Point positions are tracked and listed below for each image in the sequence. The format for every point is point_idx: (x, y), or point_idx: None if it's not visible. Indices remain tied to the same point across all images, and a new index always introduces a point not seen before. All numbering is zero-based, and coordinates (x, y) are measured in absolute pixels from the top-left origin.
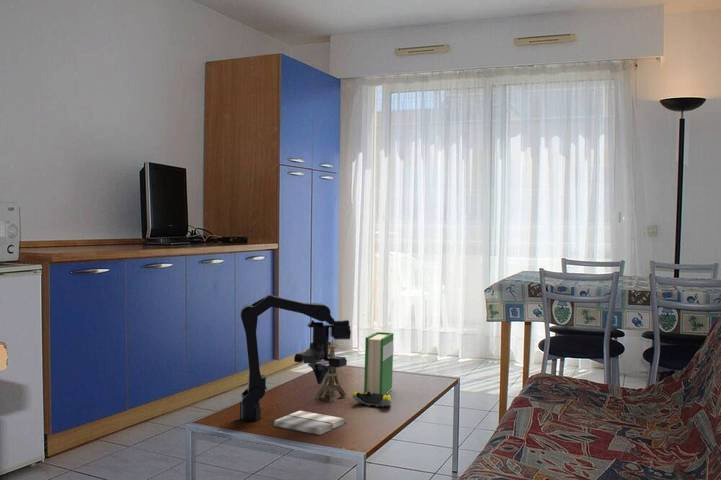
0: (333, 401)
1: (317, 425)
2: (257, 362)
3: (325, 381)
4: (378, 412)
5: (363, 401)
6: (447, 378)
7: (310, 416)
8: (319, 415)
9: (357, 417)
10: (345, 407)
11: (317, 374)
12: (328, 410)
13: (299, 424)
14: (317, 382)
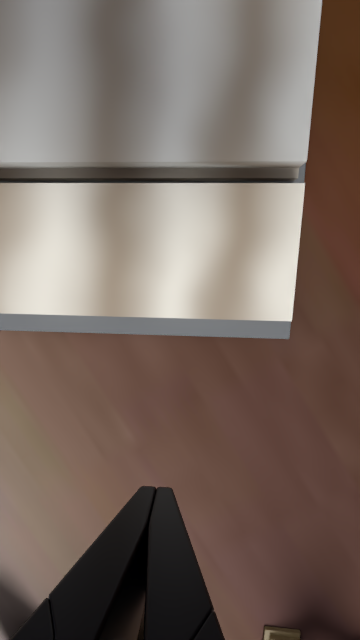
0: (274, 631)
1: (2, 73)
2: None
3: None
4: (9, 571)
5: None
6: None
7: (158, 236)
8: (125, 289)
9: (35, 462)
10: None
11: (145, 624)
12: (217, 500)
13: (109, 10)
14: (174, 498)
